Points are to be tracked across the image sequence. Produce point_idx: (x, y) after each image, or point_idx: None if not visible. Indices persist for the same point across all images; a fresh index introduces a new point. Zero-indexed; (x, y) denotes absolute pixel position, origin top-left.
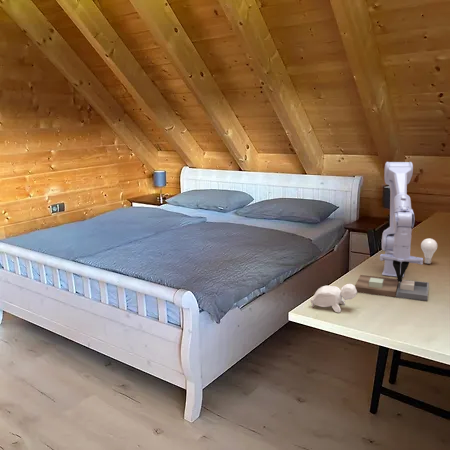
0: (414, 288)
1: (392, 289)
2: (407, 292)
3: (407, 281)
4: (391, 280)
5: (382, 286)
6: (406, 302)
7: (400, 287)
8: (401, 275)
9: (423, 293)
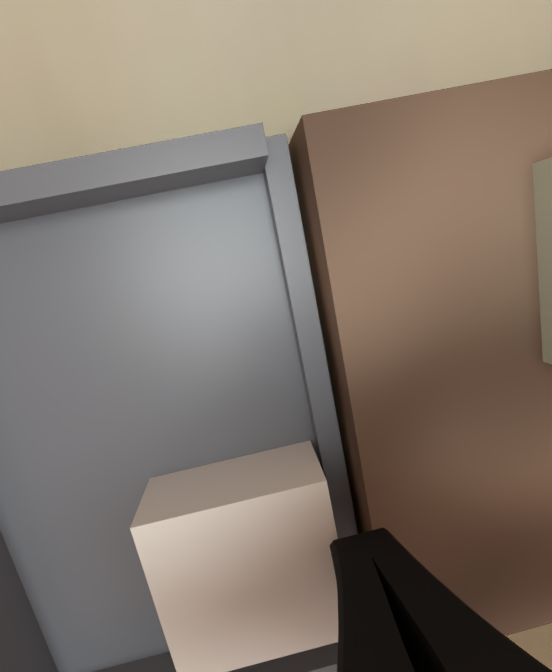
0: None
1: (376, 209)
2: (195, 377)
3: (267, 627)
4: (472, 568)
5: (542, 237)
6: (92, 17)
7: (312, 452)
8: (371, 629)
9: (6, 457)
